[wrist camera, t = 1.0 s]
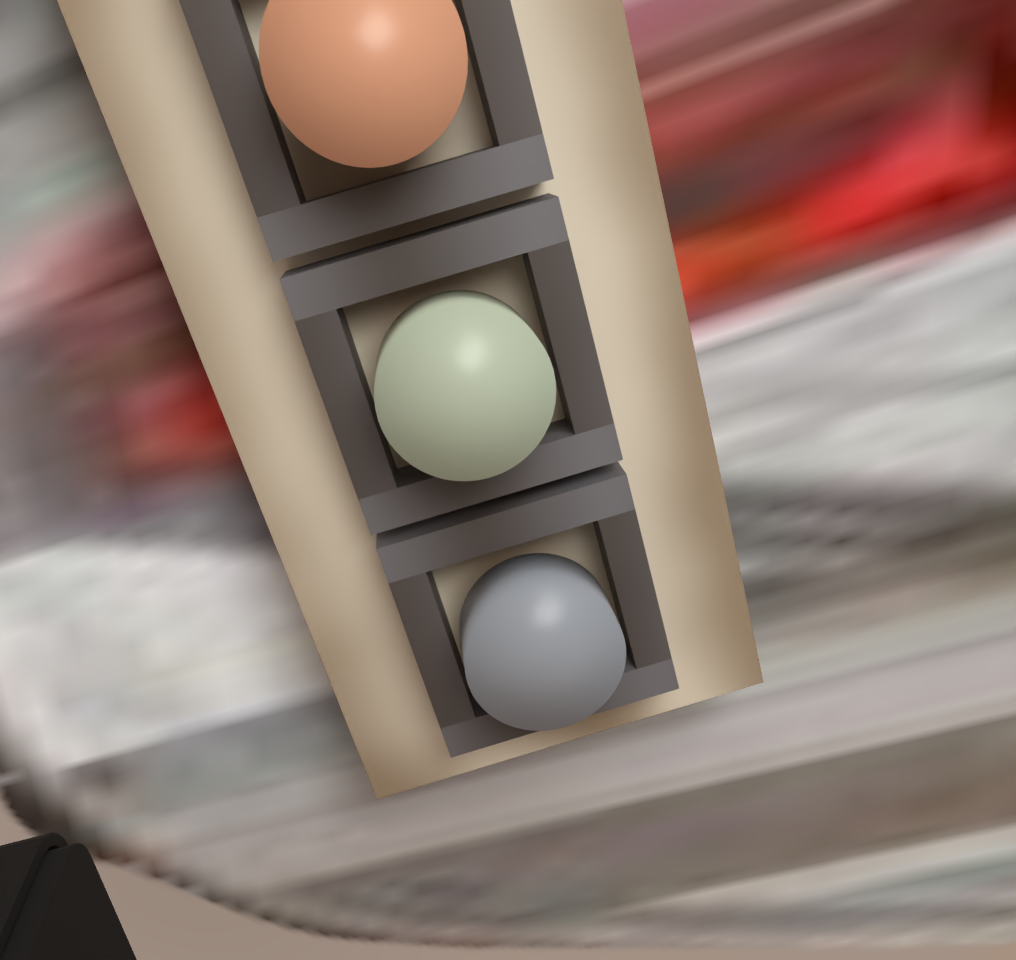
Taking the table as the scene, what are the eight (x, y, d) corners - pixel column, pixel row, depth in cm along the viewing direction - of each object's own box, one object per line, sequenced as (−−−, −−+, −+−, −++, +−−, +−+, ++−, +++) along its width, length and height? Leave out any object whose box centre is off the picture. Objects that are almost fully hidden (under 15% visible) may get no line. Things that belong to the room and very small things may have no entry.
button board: (546, -211, 23) (581, -290, 19) (730, 633, 31) (782, 710, 27) (63, -71, 23) (-11, -117, 19) (378, 739, 31) (376, 833, 27)
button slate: (589, 534, 25) (605, 566, 23) (624, 663, 26) (641, 703, 24) (440, 578, 25) (444, 615, 23) (483, 706, 26) (490, 749, 24)
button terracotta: (429, -63, 20) (433, -85, 18) (483, 136, 21) (491, 135, 19) (243, -9, 20) (227, -24, 18) (308, 187, 21) (300, 192, 19)
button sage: (518, 268, 22) (530, 280, 20) (560, 427, 24) (575, 452, 22) (352, 318, 22) (349, 334, 20) (405, 473, 24) (406, 502, 22)
